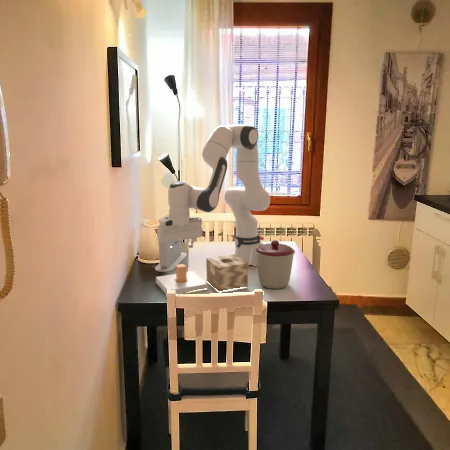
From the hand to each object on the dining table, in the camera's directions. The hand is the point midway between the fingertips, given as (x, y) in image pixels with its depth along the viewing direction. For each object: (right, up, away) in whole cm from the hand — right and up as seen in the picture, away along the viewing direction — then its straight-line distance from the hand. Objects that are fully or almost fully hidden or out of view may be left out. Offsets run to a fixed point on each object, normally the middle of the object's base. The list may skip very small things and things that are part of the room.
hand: (180, 249), depth 205 cm
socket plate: (0, -17, +4) cm, 18 cm away
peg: (0, -17, +4) cm, 18 cm away
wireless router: (-9, -9, +38) cm, 40 cm away
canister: (+42, -17, +6) cm, 46 cm away
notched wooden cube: (+20, -17, +5) cm, 27 cm away
